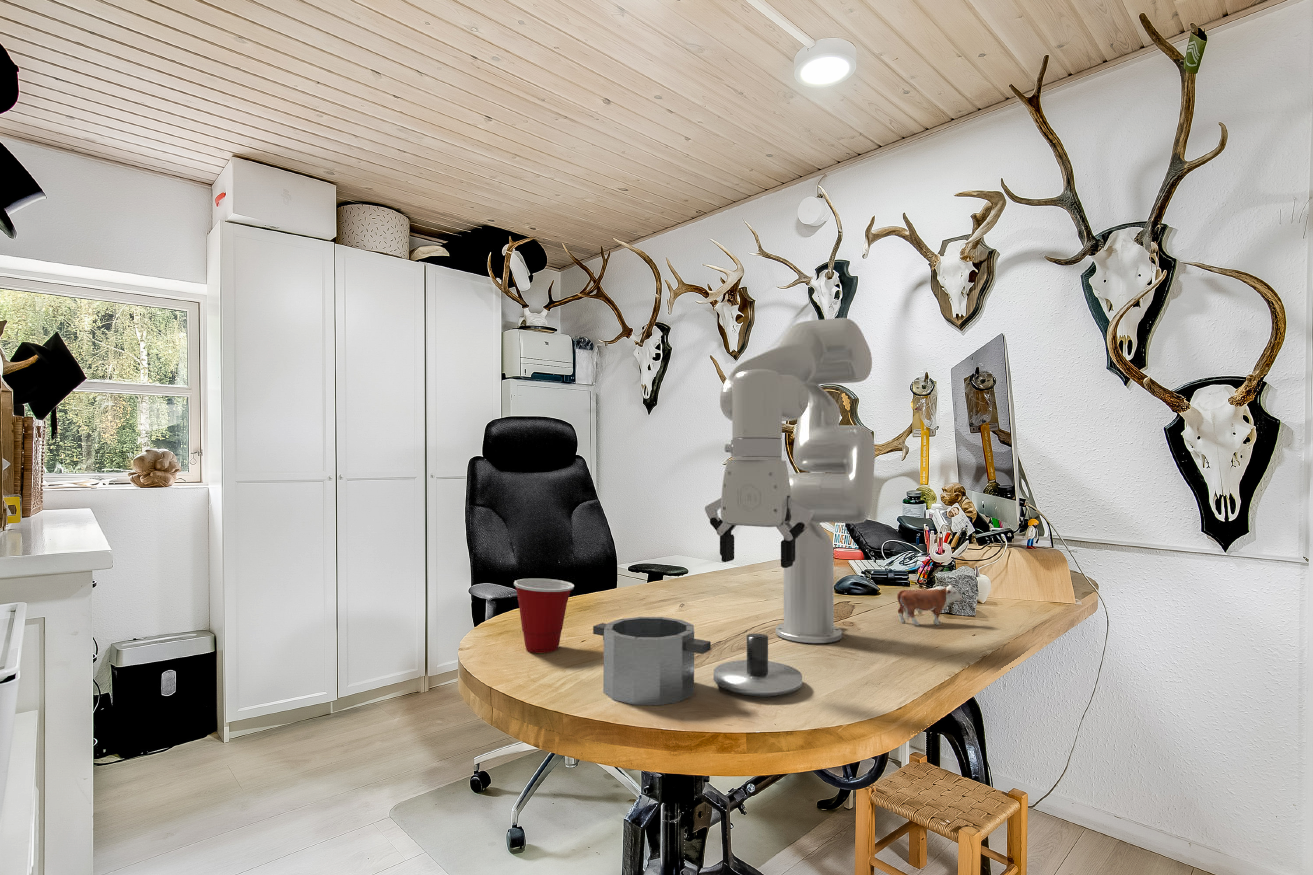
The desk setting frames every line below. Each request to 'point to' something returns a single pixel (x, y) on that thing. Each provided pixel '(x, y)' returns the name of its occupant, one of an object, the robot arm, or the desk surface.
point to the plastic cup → (542, 612)
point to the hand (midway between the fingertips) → (756, 563)
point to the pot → (649, 659)
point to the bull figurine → (925, 602)
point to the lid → (757, 672)
